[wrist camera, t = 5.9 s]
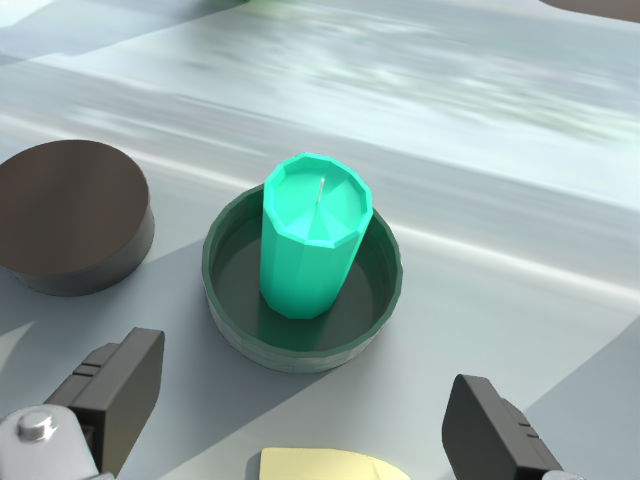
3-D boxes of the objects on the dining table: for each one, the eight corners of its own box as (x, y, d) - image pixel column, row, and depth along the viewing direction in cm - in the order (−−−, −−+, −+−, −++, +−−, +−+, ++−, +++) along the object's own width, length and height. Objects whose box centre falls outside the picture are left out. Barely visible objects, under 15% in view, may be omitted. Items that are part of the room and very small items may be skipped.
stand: (146, 163, 37) (136, 128, 34) (170, 279, 32) (161, 252, 29) (-2, 188, 34) (-30, 153, 31) (1, 319, 30) (-32, 294, 26)
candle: (250, 253, 34) (250, 142, 24) (327, 238, 36) (359, 128, 25) (268, 329, 31) (278, 241, 21) (351, 309, 33) (398, 219, 23)
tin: (350, 193, 38) (360, 164, 35) (416, 341, 33) (435, 323, 29) (189, 227, 35) (183, 198, 32) (232, 400, 29) (230, 387, 26)
